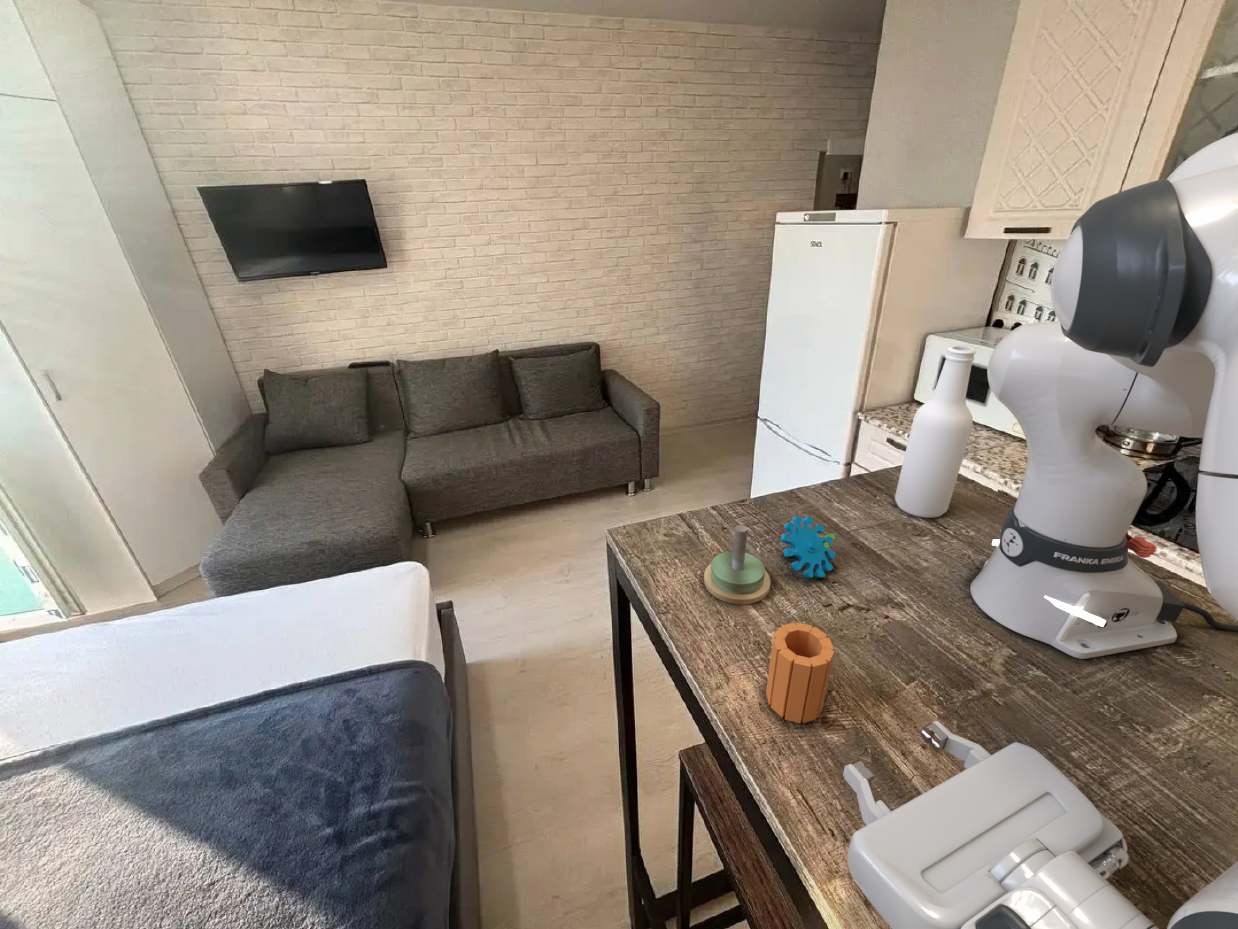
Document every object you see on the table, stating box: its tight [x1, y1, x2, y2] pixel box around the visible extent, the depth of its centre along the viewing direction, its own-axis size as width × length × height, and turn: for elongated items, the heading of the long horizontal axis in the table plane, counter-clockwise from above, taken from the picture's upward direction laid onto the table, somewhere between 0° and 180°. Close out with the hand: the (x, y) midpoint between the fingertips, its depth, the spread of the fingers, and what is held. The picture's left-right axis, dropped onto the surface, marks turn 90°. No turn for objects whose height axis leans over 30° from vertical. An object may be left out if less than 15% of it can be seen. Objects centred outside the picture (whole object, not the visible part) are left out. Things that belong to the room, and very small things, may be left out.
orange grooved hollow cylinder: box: [765, 621, 835, 724], centre depth 58 cm, size 6×6×9 cm
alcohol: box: [894, 345, 977, 519], centre depth 89 cm, size 9×9×30 cm
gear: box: [780, 516, 836, 580], centre depth 82 cm, size 11×6×10 cm
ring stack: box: [703, 524, 771, 605], centre depth 77 cm, size 10×10×10 cm
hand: (890, 746), depth 47 cm, fingers open, 8 cm apart
